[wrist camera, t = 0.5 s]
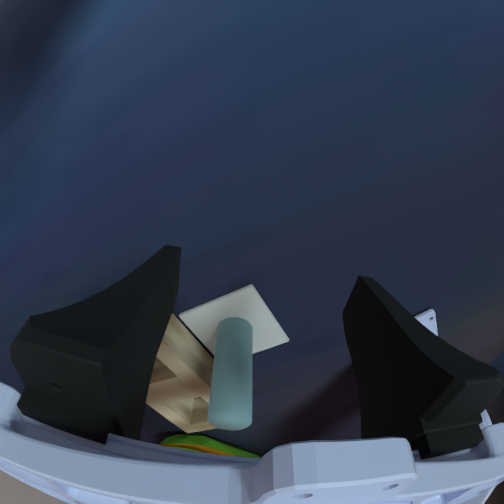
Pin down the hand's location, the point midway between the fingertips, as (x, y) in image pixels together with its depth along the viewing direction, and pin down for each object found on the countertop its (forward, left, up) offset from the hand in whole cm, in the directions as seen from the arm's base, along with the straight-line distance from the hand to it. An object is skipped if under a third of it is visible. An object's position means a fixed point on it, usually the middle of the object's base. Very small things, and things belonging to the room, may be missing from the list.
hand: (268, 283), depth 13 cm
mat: (-10, +8, -10) cm, 16 cm away
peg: (-10, +8, -10) cm, 16 cm away
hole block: (-12, +16, -10) cm, 22 cm away
